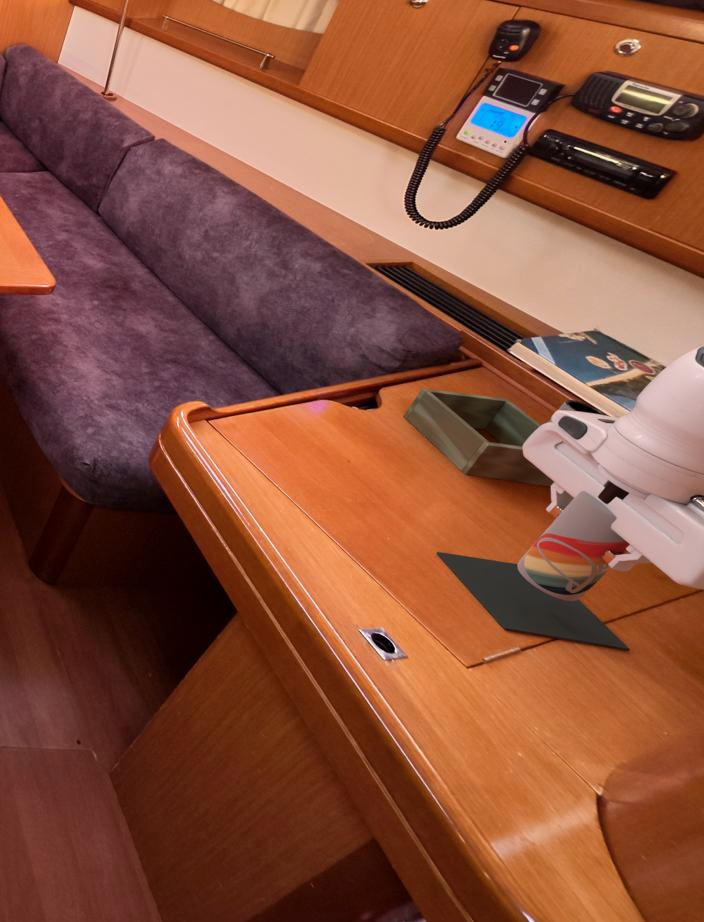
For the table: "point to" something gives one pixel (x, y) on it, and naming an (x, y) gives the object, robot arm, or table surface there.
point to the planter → (578, 407)
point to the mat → (528, 603)
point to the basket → (477, 434)
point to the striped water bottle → (575, 547)
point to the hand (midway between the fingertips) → (583, 539)
